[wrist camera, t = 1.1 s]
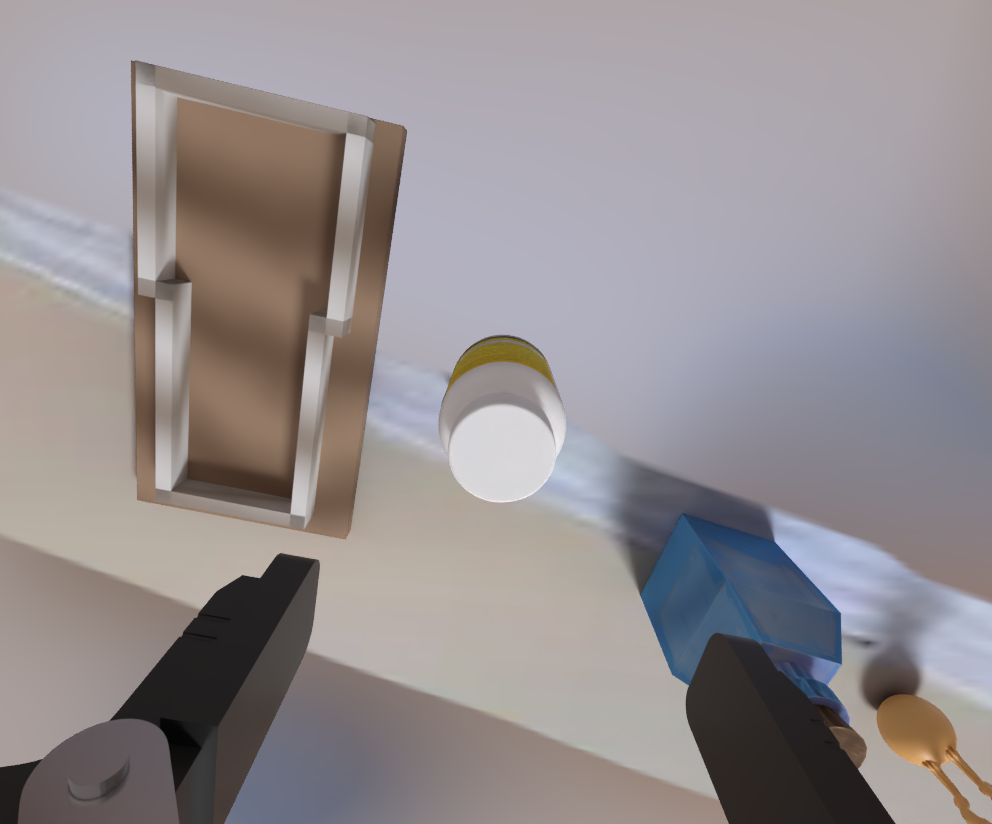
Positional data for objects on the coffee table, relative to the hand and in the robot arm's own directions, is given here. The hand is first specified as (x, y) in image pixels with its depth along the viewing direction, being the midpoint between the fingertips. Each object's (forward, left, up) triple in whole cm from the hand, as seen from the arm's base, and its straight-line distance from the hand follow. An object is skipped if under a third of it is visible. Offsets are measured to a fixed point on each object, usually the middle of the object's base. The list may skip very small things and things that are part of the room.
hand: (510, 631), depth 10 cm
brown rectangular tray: (0, -13, -18) cm, 23 cm away
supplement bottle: (0, 0, -19) cm, 19 cm away
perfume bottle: (+9, +15, -19) cm, 25 cm away
